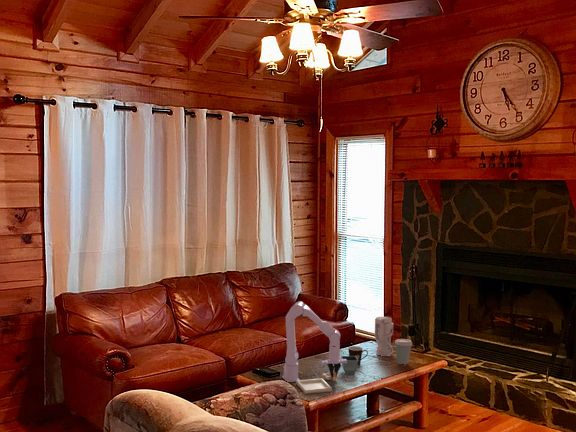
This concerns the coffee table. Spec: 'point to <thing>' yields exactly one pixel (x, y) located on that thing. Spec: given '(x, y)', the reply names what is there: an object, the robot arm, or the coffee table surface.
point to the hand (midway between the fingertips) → (333, 376)
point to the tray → (314, 386)
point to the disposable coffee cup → (403, 350)
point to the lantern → (383, 335)
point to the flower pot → (350, 364)
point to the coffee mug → (356, 352)
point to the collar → (330, 376)
